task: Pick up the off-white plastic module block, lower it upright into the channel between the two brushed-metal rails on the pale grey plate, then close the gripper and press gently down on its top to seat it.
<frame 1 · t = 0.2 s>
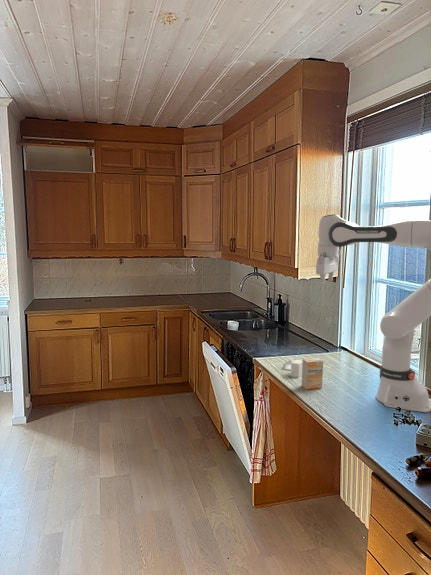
hand: (326, 282, 200), 47 cm above the worktop, tool pointing down, fingers open, 8 cm apart
rail plate: (292, 368, 229), on the worktop
module: (297, 375, 220), on the worktop
supplement box: (311, 387, 204), on the worktop
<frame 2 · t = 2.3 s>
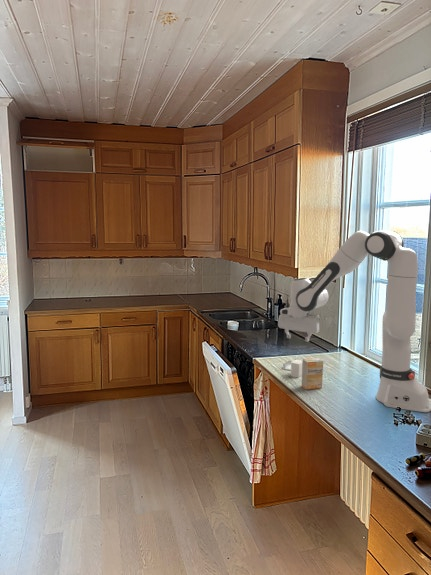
hand: (297, 339, 217), 18 cm above the worktop, tool pointing down, fingers open, 8 cm apart
nothing on the worktop moved.
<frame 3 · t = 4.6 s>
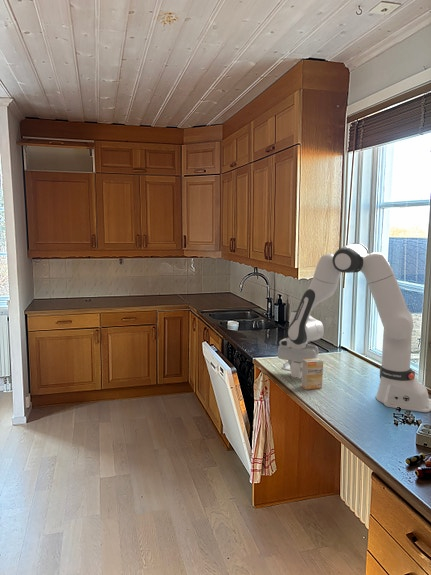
hand: (297, 370, 219), 3 cm above the worktop, tool pointing down, fingers closed on module, 4 cm apart
module: (297, 375, 220), on the worktop, touching gripper
everything else where it was.
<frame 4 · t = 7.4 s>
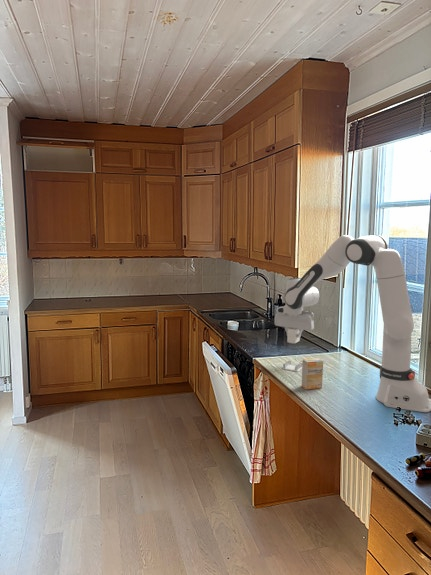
hand: (293, 336, 227), 17 cm above the worktop, tool pointing down, fingers closed on module, 4 cm apart
module: (293, 341, 227), point 14 cm above the worktop, touching gripper
everything else where it was.
when the fingers open (4 cm above the worktop, at t = 10.3 s): module drops 1 cm, resting on rail plate.
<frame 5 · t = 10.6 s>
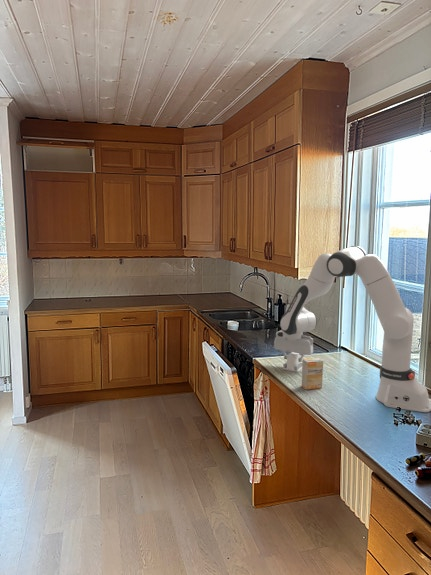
hand: (293, 360, 229), 4 cm above the worktop, tool pointing down, fingers open, 6 cm apart
module: (292, 367, 229), point 1 cm above the worktop, touching rail plate
everything else where it was.
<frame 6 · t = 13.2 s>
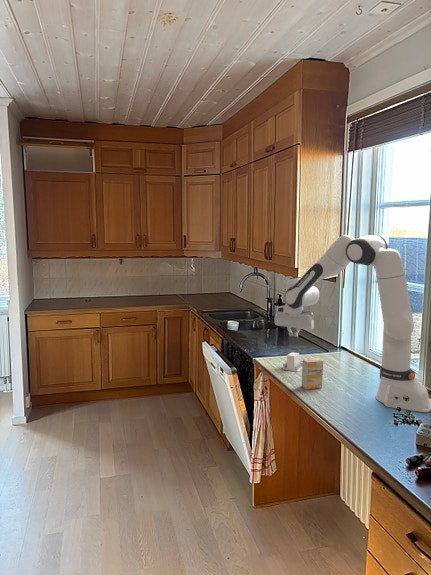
hand: (293, 336, 227), 17 cm above the worktop, tool pointing down, fingers closed
nothing on the worktop moved.
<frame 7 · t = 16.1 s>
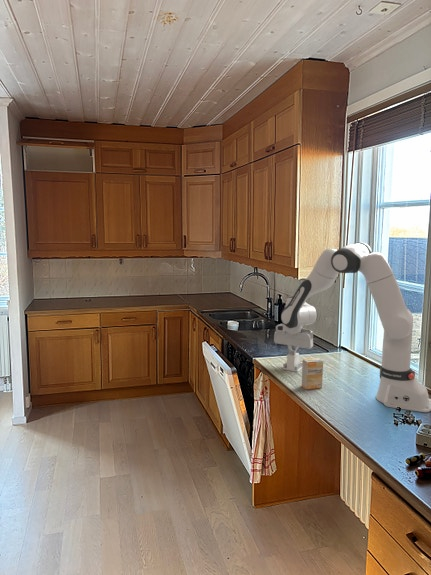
hand: (292, 354, 228), 8 cm above the worktop, tool pointing down, fingers closed, pressing on module
module: (292, 367, 229), point 1 cm above the worktop, touching gripper, rail plate
everything else where it was.
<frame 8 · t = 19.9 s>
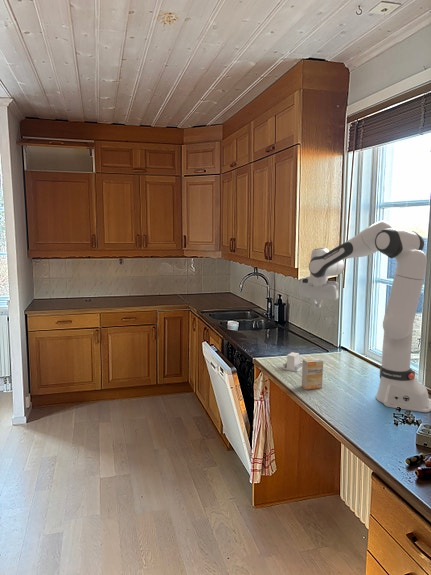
hand: (317, 307, 229), 31 cm above the worktop, tool pointing down, fingers closed
module: (292, 367, 229), point 1 cm above the worktop, touching rail plate
everything else where it was.
at the end: module 0.1 cm off-centre on the rail plate, point 0.6 cm above the rail plate's base; module tilted 0°; the gripper is holding nothing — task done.
